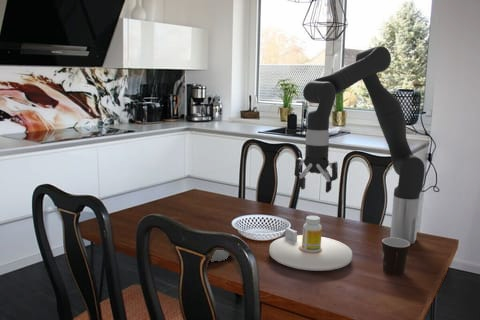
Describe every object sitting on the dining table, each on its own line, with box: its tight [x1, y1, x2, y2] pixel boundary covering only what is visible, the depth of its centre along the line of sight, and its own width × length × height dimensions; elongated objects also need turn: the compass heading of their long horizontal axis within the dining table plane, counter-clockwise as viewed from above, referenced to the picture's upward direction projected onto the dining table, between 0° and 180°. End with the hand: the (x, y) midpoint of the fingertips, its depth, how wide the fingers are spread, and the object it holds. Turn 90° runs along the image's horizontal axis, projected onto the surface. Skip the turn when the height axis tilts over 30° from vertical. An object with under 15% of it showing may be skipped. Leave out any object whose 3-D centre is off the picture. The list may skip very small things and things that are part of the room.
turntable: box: [269, 227, 353, 272], centre depth 165 cm, size 28×28×5 cm
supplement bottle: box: [302, 215, 323, 252], centre depth 164 cm, size 6×6×11 cm
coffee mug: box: [381, 237, 411, 277], centre depth 154 cm, size 12×9×10 cm
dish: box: [210, 250, 229, 263], centre depth 166 cm, size 14×14×5 cm
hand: (315, 190), depth 161 cm, fingers open, 8 cm apart
